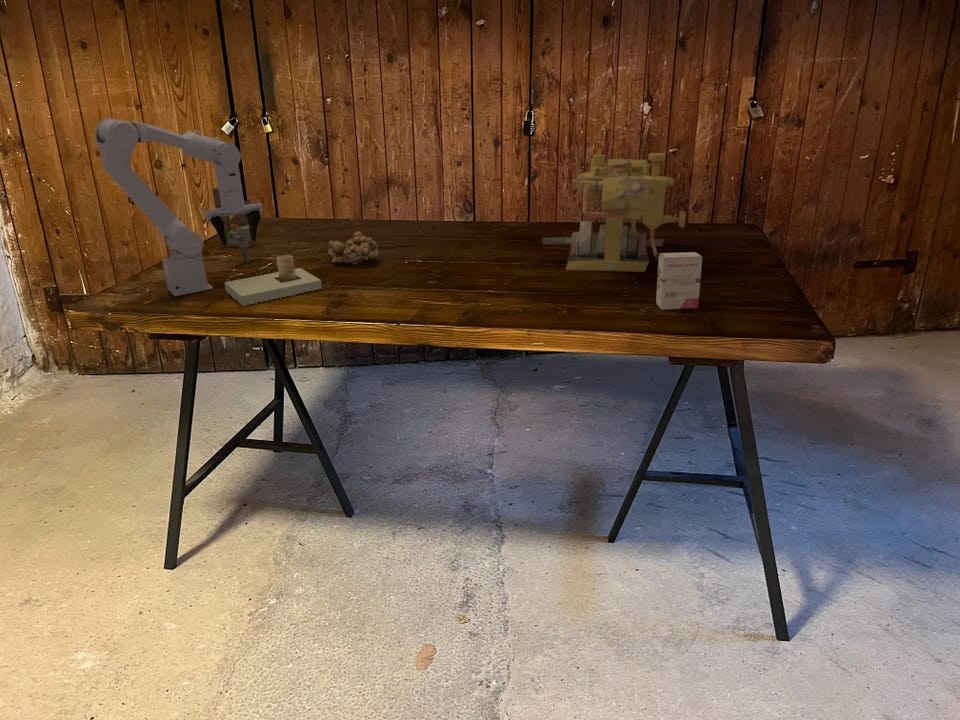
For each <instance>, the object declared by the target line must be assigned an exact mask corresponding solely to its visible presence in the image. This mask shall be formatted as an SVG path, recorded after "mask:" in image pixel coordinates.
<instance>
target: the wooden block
mask: <svg viewBox="0 0 960 720" xmlns="http://www.w3.org/2000/svg"><path fill="white" fill-rule="evenodd" d="M212 195H213V200H214V201H213V202H214V207H215V208H214V209H217V208H222V206H221V200H220V195H219V189H218V186H216V187H215V186H214V187H213V188H212ZM244 204H245V205H247V204H251V199H249V198H248V200H244ZM228 214H230V213H228ZM230 217H231V216H226V217H220V218H222V221H224V231H225V237H226V241H227V246H224V245H222V242H221V239H220V237H219V235H217V237H218V243H219V247H220V248H240V244H232V243H229V242H228V238H227V236H226V234H227V233H228V232H229V231H233V230H232V225H238V227H242V226H246V225H249V223H248V219H247V216H246V214H239V215H232V217H231V218H230ZM237 240H238V239H237V238H236V241H237ZM248 245H249V247H248V248H253V247H256V246H257V240H256V241H253V240H250V241H248Z"/></svg>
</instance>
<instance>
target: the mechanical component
mask: <svg viewBox="0 0 960 720" xmlns="http://www.w3.org/2000/svg"><path fill="white" fill-rule="evenodd" d="M226 236H227V238H228V242H229V243H232V244H240V247H239V248H240V249H241V251H242V258H243V263H246V264H249V262H250V261H251V259H250V256H249V248H250V247H249V245H248V241H250V240H251V237H250V229H249V225H246V226H242V227H239V226H238V227H236V228H235V231H233V230H232V231H229V232H228V233H227V234H226ZM257 237H258V233H256V238H257ZM236 238H237V239H238V240H237V241H236ZM250 263H251V262H250Z"/></svg>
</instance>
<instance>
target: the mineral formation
mask: <svg viewBox="0 0 960 720" xmlns="http://www.w3.org/2000/svg"><path fill="white" fill-rule="evenodd" d="M328 245H329V247H330V248H329V249H328V251H327V253H328V255H329V256H330V257H332V260H331V263H333V264H335V263H337V264H341V263H345V264H348V263H350V264H351V265H353V266H357V264H359V263H362V262H365V261H366V260H367V261H368V260H369V258H371V259H372V258H374V259H376V258H378V257H379V255H380V253H379V251H378V244H377V242H376V241H375V240H374V239H373V238H371V237H366V236H365V235H363V233H362V232H361V231H356V232H354V233H353V235H352V238H350V239H348V240H347V241H346V242H345V243H344V242H341V241H339V240H330V241H329V242H328Z"/></svg>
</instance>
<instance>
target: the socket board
mask: <svg viewBox="0 0 960 720" xmlns="http://www.w3.org/2000/svg"><path fill="white" fill-rule="evenodd" d="M295 276H296V280H293V281H288V282H283V283H281V282H280V278H279V272H278V271H276V272H271V273H266V274H261V275H260V274H259V275H255V276H251V277H246V278H239V279H235V280H230V281H224V283H223V284H224V288H225V292H226V293H227V294H228V295H229V294H230V295H231V296H232V298H233V299H234V300H235V299H236V300H237V301H238V302H237V301H236V300H235V301H236V302H237V303H238V304H240V305H241V306H243V307H247V306H251V305H250V304H252V305H256V304H259V303H258V302H261V303H264V302H263V301H266V302H269V301H268V300H271V301H274V300H273V299H275V300H278V298H280V299H283V298H282V297H285V298H287V297H286V296H290V297H292V296H291V295H294V296H296V295H295V294H299V293H304V292H308V291H313V292H315V291H314V290H318V289H322V290H323V288H322V279H320V278H318V277H316V276H315V275H313V274H311V273H309V272H308V271H306V270H305V269H303V268H301V267H299V268H295ZM318 291H319V290H318ZM304 294H305V293H304ZM230 295H229V296H230ZM299 295H300V294H299ZM231 296H230V297H231ZM255 303H256V304H255ZM246 305H247V306H246Z"/></svg>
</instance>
